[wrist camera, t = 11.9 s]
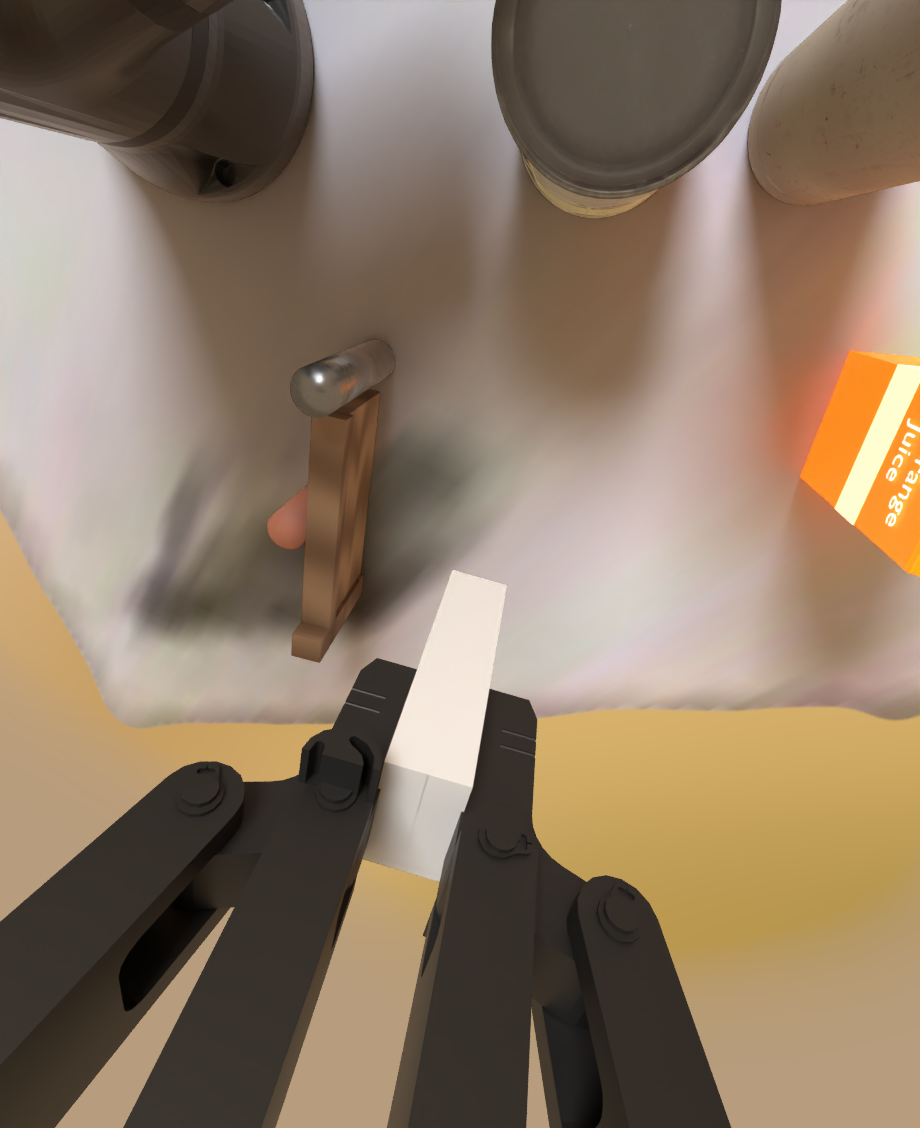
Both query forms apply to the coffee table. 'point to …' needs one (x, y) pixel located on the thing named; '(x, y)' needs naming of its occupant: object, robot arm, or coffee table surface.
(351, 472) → the gate
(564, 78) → the coffee can
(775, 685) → the coffee table surface
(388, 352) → the hinge post
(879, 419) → the orange juice
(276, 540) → the latch post
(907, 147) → the thermos bottle
